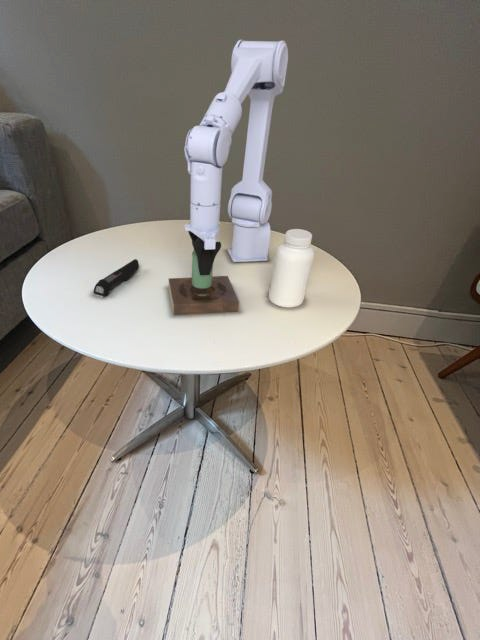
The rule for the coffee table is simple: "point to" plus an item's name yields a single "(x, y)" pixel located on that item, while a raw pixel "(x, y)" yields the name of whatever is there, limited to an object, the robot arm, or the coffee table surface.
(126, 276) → the electric trimmer
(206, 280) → the bottle
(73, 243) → the coffee table surface
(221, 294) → the brown wooden holder tray
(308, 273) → the pill bottle
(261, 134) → the robot arm
